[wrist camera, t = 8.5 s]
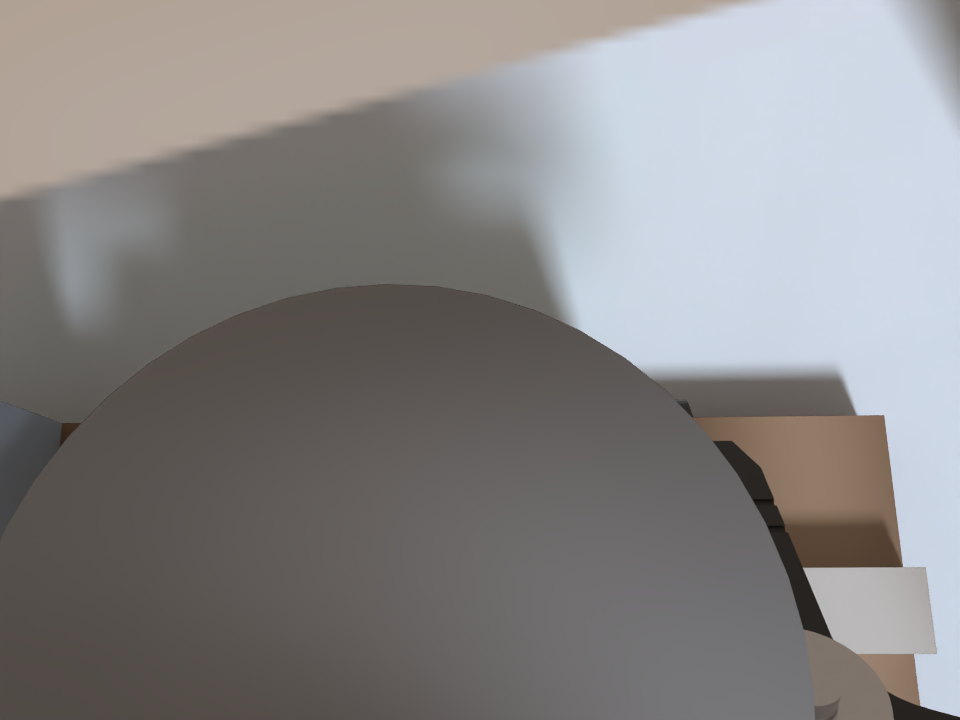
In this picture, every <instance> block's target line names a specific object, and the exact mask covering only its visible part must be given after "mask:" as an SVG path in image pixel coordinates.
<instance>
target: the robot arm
mask: <svg viewBox="0 0 960 720" xmlns="http://www.w3.org/2000/svg"><path fill="white" fill-rule="evenodd" d="M675 401H676V402H677V403H678V404H679V405H680V406H681V407H682V408H683V409H684V410H685V411H686V412H687V413H688V414H689V415H690V416H691V417H692V418H693V416H692V413H691V410H690V407H689V405H688V403H687V401H686V400H675ZM713 442H714V444H715V445H716V446H717V448H718V449H719V450H720V452H721V453H722V454H723V456H724V457H725V458H726V460H727V461H728V462H729V464H730V465H731V466H732V468H733V469H734V470H735V472H736V473H737V474H738V476H739V478H740V480H741V481H742V483H743V485H744V486H745V488H746V490H747V492H748V493H749V495H750V497H751V499H752V500H753V502H754V504H755V505H756V507H757V509H758V511H759V512H760V514H761V516H762V518H763V519H764V521H765V523H766V525H767V527H768V530H769V532H770V535H771V537H772V539H773V542H774V544H775V546H776V549H777V551H778V553H779V556H780V558H781V560H782V563H783V565H784V567H785V570H786V572H787V575H788V577H789V581H790V584H791V588H792V591H793V595H794V598H795V602H796V605H797V609H798V612H799V616H800V619H801V623H802V626H803V630H804V633H805V639H806V646H807V652H808V658H809V665H810V671H811V677H812V684H813V690H814V707H815V720H960V717H957V716H953V715H949V714H946V713H942V712H938V711H934V710H931V709H928V708H925V707H921V706H918V705H915V704H913V703H910V702H908V701H906V700H903V699H901V698H899V697H897V696H895V695H893V694H891V693H889V692H888V691H887V690H886V688H885V686H884V684H883V683H882V681H881V680H880V678H879V677H878V675H877V674H876V673H875V671H874V670H873V669H872V668H871V667H870V666H869V665H868V664H867V663H866V662H865V661H864V660H863V659H862V658H861V657H859V656H858V655H857V654H856V653H854V652H853V651H852V650H850V649H849V648H847V647H846V646H844V645H842V644H840V643H839V642H837V641H835V640H833V638H832V636H831V634H830V631H829V629H828V626H827V624H826V622H825V619H824V617H823V615H822V612H821V610H820V607H819V605H818V603H817V600H816V598H815V595H814V593H813V591H812V588H811V586H810V583H809V581H808V579H807V576H806V574H805V572H804V569H803V567H802V564H801V562H800V560H799V557H798V555H797V552H796V550H795V548H794V545H793V543H792V540H791V538H790V536H789V533H788V532H785V524H784V521H783V519H782V517H781V514H780V512H779V509H778V507H777V505H774V497H773V495H772V493H771V490H770V488H769V486H768V483H767V481H766V478H765V476H764V474H763V471H762V469H761V467H760V466H759V465H758V464H757V463H755V462H754V461H753V460H752V459H751V458H750V457H749V456H748V455H747V454H746V453H745V452H744V451H742V450H741V449H740V448H739V447H738V446H737V445H736V444H735V443H734V442H733V441H713Z"/></svg>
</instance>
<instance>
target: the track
mask: <svg viewBox="0 0 960 720" xmlns="http://www.w3.org/2000/svg"><path fill="white" fill-rule="evenodd" d="M693 419H694V420H695V421H696V422H697V423H698V424H699V425H700V426H701V427H702V428H703V429H704V431H705V432H706V433H707V435H708V436H709V437H710V438H711V440H712V441H733V442H734V443H735V444H736V445H737V446H738V447H739V448H740V449H741V450H742V451H744V452H745V453H746V454H747V455H748V456H749V457H750V458H751V459H752V460H753V461H754V462H755V463H757V464H758V465H759V466H760V467H761V469H762V471H763V474H764V476H765V478H766V481H767V483H768V486H769V488H770V490H771V493H772V495H773V497H774V505H777V507H778V509H779V512H780V514H781V517H782V519H783V521H784V524H785V532H788V533H789V536H790V538H791V540H792V543H793V545H794V548H795V550H796V552H797V555H798V557H799V560H800V562H801V564H802V567H803V569H804V572H805V574H806V576H807V579H808V581H809V583H810V586H811V588H812V591H813V593H814V595H815V598H816V600H817V603H818V605H819V607H820V610H821V612H822V615H823V617H824V619H825V622H826V624H827V626H828V629H829V631H830V634H831V636H832V638H833V640H835V641H837V642H839V643H840V644H842V645H844V646H846V647H847V648H849V649H850V650H852V651H853V652H854V653H856V654H857V655H858V656H859V657H861V658H862V659H863V660H864V661H865V662H866V663H867V664H868V665H869V666H870V667H871V668H872V669H873V670H874V671H875V673H876V674H877V675H878V677H879V678H880V680H881V681H882V683H883V684H884V686H885V688H886V690H887V691H888V692H889V693H891V694H893V695H895V696H897V697H899V698H901V699H903V700H906V701H908V702H910V703H913V704H915V705H918V706H920V700H919V692H918V684H917V676H916V668H915V660H914V654H937V650H936V643H935V635H934V627H933V620H932V612H931V604H930V597H929V589H928V582H927V574H926V567H903V564H902V556H901V548H900V540H899V532H898V524H897V516H896V508H895V500H894V492H893V484H892V475H891V467H890V459H889V451H888V443H887V435H886V427H885V419H884V415H872V416H771V417H693ZM80 424H81V423H62V430H61V439H60V447H61V446H62V444H63V443H64V442H65V441H66V439H67V438H68V437H69V435H70V434H71V433H72V432H73V431H74V430H75V429H76V428H77V427H78V426H79V425H80ZM60 447H59V448H60Z"/></svg>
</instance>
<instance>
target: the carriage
mask: <svg viewBox="0 0 960 720" xmlns="http://www.w3.org/2000/svg"><path fill="white" fill-rule="evenodd" d="M0 720H815V707H814V690H813V684H812V677H811V671H810V665H809V658H808V652H807V646H806V639H805V633H804V630H803V626H802V623H801V619H800V616H799V612H798V609H797V605H796V602H795V598H794V595H793V591H792V588H791V584H790V581H789V577H788V575H787V572H786V570H785V567H784V565H783V563H782V560H781V558H780V556H779V553H778V551H777V549H776V546H775V544H774V542H773V539H772V537H771V535H770V532H769V530H768V527H767V525H766V523H765V521H764V519H763V518H762V516H761V514H760V512H759V511H758V509H757V507H756V505H755V504H754V502H753V500H752V499H751V497H750V495H749V493H748V492H747V490H746V488H745V486H744V485H743V483H742V481H741V480H740V478H739V476H738V474H737V473H736V472H735V470H734V469H733V468H732V466H731V465H730V464H729V462H728V461H727V460H726V458H725V457H724V456H723V454H722V453H721V452H720V450H719V449H718V448H717V446H716V445H715V444H714V442H713V441H712V440H711V438H710V437H709V436H708V435H707V433H706V432H705V431H704V429H703V428H702V427H701V426H700V425H699V424H698V423H697V422H696V421H695V420H694V419H693V418H692V417H691V416H690V415H689V414H688V413H687V412H686V411H685V410H684V409H683V408H682V407H681V406H680V405H679V404H678V403H677V402H676V401H675V400H674V399H673V397H672V396H671V395H670V394H669V393H668V392H667V391H666V390H664V389H663V388H662V387H661V386H659V385H658V384H657V383H656V382H654V381H653V380H652V379H651V378H649V377H648V376H647V375H646V374H644V373H643V372H642V371H641V370H639V369H638V368H637V367H636V366H634V365H633V364H632V363H631V362H629V361H628V360H627V359H626V358H624V357H622V356H621V355H619V354H618V353H616V352H614V351H613V350H611V349H609V348H608V347H606V346H604V345H603V344H601V343H600V342H598V341H596V340H595V339H593V338H591V337H590V336H588V335H587V334H585V333H583V332H582V331H580V330H578V329H575V328H573V327H571V326H569V325H566V324H564V323H562V322H560V321H558V320H555V319H553V318H551V317H549V316H546V315H544V314H542V313H540V312H538V311H535V310H533V309H529V308H526V307H523V306H520V305H516V304H513V303H510V302H507V301H503V300H500V299H497V298H494V297H490V296H487V295H482V294H476V293H471V292H465V291H459V290H453V289H448V288H442V287H436V286H414V285H393V284H382V285H369V286H357V287H344V288H334V289H329V290H324V291H320V292H315V293H310V294H305V295H300V296H295V297H290V298H286V299H283V300H280V301H277V302H274V303H271V304H268V305H265V306H262V307H259V308H256V309H253V310H250V311H247V312H244V313H241V314H238V315H236V316H234V317H232V318H230V319H228V320H226V321H223V322H221V323H219V324H217V325H215V326H213V327H211V328H209V329H207V330H204V331H202V332H200V333H198V334H196V335H194V336H192V337H190V338H189V339H187V340H186V341H184V342H182V343H181V344H179V345H178V346H176V347H174V348H173V349H171V350H170V351H168V352H167V353H165V354H163V355H162V356H160V357H159V358H157V359H155V360H154V361H152V362H151V363H149V364H148V365H146V366H145V367H144V368H143V369H141V370H140V371H139V372H138V373H136V374H135V375H134V376H133V377H132V378H130V379H129V380H128V381H127V382H125V383H124V384H123V385H122V386H120V387H119V388H118V389H117V390H115V391H114V392H113V393H112V394H110V395H109V396H108V397H107V398H106V399H105V400H104V401H103V402H102V403H101V404H100V405H99V406H98V407H97V408H96V409H95V410H94V411H93V412H92V413H91V414H90V415H89V416H88V417H87V418H86V419H85V420H84V421H83V422H82V423H81V424H80V425H79V426H78V427H77V428H76V429H75V430H74V431H73V432H72V433H71V434H70V435H69V437H68V438H67V439H66V441H65V442H64V443H63V444H62V446H61V447H60V448H59V450H58V451H57V452H56V453H55V455H54V456H53V457H52V459H51V460H50V461H49V462H48V464H47V465H46V466H45V468H44V469H43V470H42V471H41V473H40V474H39V475H38V477H37V478H36V479H35V481H34V482H33V484H32V486H31V487H30V489H29V491H28V492H27V494H26V496H25V497H24V499H23V501H22V502H21V504H20V505H19V507H18V509H17V510H16V512H15V514H14V515H13V517H12V519H11V520H10V522H9V524H8V525H7V527H6V529H5V531H4V533H3V535H2V538H1V540H0Z"/></svg>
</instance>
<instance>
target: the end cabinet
mask: <svg viewBox="0 0 960 720" xmlns="http://www.w3.org/2000/svg"><path fill="white" fill-rule="evenodd" d="M61 430H62V423H60V422H57V421H54V420H51V419H49V418H46V417H43V416H40V415H37V414H35V413H32V412H29V411H26V410H24V409H21V408H18V407H15V406H13V405H10V404H7V403H4V402H1V401H0V540H1V538H2V535H3V533H4V531H5V529H6V527H7V525H8V524H9V522H10V520H11V519H12V517H13V515H14V514H15V512H16V510H17V509H18V507H19V505H20V504H21V502H22V501H23V499H24V497H25V496H26V494H27V492H28V491H29V489H30V487H31V486H32V484H33V482H34V481H35V479H36V478H37V477H38V475H39V474H40V473H41V471H42V470H43V469H44V468H45V466H46V465H47V464H48V462H49V461H50V460H51V459H52V457H53V456H54V455H55V453H56V452H57V451H58V450H59V447H60V439H61Z"/></svg>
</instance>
